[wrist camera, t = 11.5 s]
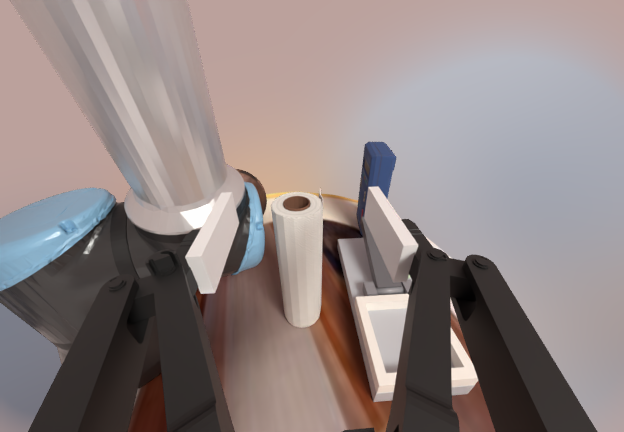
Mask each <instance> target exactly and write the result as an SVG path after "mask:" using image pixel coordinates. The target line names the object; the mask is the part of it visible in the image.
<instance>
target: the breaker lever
mask: <svg viewBox="0 0 624 432" xmlns="http://www.w3.org/2000/svg"><path fill="white" fill-rule="evenodd" d="M360 225H361V230H362V234H363V239H364V243H365V248H366V253H367V257H368V262H369V266H370V271H371V275H372V280H373V282H374V285H375V288H376V291H377V293H378V294H377V295H388V294H403V293H404V288H403V286H402V284H401V282H393V280H392V278H391V276H390V274H389V271H388V269H387V267H386V265H385V263H384V260H383V258H382V256H381V254H380V252H379V249H378V247H377V245H376V243H375V241H374V238H373V236H372V234H371V232H370V230H369V227H368V225H367V223H366V221H365V218H364V217H361V220H360Z"/></svg>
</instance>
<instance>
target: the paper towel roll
mask: <svg viewBox="0 0 624 432" xmlns="http://www.w3.org/2000/svg"><path fill="white" fill-rule="evenodd" d="M271 210H272V218H273V225H274V233H275V241H276V249H277V257H278V265H279V273H280V280H281V288H282V296H283V304H284V312H285V317H286V319H287V320H288V322H289V323H290V324H292V325H293V326H295V327H299V328H304V327H309V326H311V325H312V324H314V323H315V322H316V321H317V319H318V318H319V315H320V310H321V285H322V233H323V198H322V196H321V188H320V189H319V198H318V197H317V196H316V195H313V194H310V193H305V192H291V193H287V194H283V195H281V196H279V197H277V198H275V200H274V201H273V202H272V205H271Z"/></svg>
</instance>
